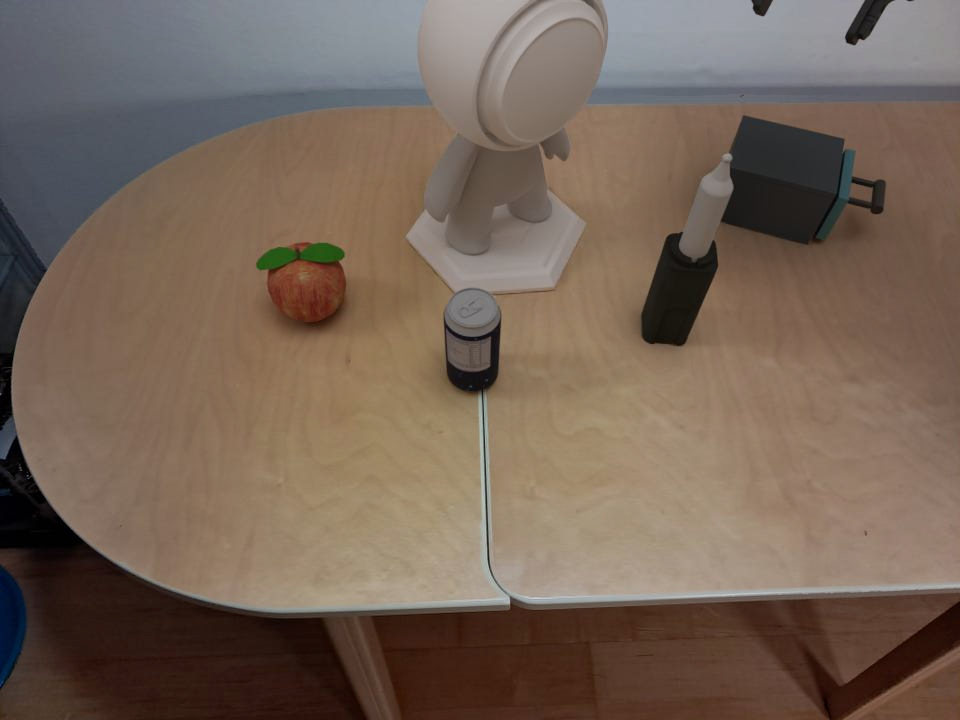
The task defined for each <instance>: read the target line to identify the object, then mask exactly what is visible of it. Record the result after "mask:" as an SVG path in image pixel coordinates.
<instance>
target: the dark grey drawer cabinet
mask: <svg viewBox="0 0 960 720" xmlns="http://www.w3.org/2000/svg"><path fill="white" fill-rule="evenodd" d="M845 141H846V140H845V138H843V137H839V136H834V135H831V134H826V133H822V132H818V131H813V130H809V129H804V128H801V127H795V126H793V125H787V124H783V123H779V122H775V121H770V120H766V119H762V118H758V117H753V116H749V115H745V114H743V115H742V116H741V120H740V122H739V125H738V127H737V130H736V133H735V136H734V138H733V141H732V143H731V146H730V148H729V152H728V153H729V154H731V155H732V161H731V162H730V178H731V180H732V183H733V191H732V194H731V196H730V199H729V201H728V204H727V206H726V209H725V211H724V213H723V216H722V218H721V221H720V223H724V224H728V225H731V226H735V227H739V228H743V229H746V230H749V231H750V230H751V231H753V232H758V233H762V234H766V235H769V236H773V237H776V238H780V239H783V240H788V241H791V242H796V243H800V244H804V245H807V246H808V245H809V244H810V241H811V240H812V238H813V236H814V234H816V231H817V228H818V226H819V224H820V222H821V221H822V219H823V217H824V215H825V214H826V212H827V210H828V208H829V207H830V205H831V203H832V201H833V199H834V198H835V196H836V194H837V189H838V182H839V175H840V168H841V162H842V155H843V153H844V147H845Z"/></svg>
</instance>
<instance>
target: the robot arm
mask: <svg viewBox="0 0 960 720" xmlns="http://www.w3.org/2000/svg"><path fill="white" fill-rule="evenodd" d="M750 1H751V4H752V10H753V12H754V14H755V16H756V15H757V16H759V17H765V16H766V14H768V11H769V9H770V7H771V5H772V3H773V1H774V0H750ZM895 1H896V0H864V1H863V3H862V4H861V6H860V8H859V9H858V11H857V13H856V15H855V17H854V18H853V20H852V22H851V23H850V26H849V27H848V29H847V30H846V33H845V35H844V40H845V43H846V44H848V45H850V46H854V47H855V46H856V45H857V44H858V42H859V41H860V40H861V41H865V40H866V39H867V38H869V37H870V36H871V35H872V32H873V31H874V29H875V27H876V25H877V24H878V22H879V20H880V19H881V16H882V15H883V13H884V12H885V10H886V8H887V6H889V4H891V3H892V2H895ZM906 1H907V2H914V1H915V0H906Z"/></svg>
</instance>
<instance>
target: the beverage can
mask: <svg viewBox="0 0 960 720" xmlns="http://www.w3.org/2000/svg"><path fill="white" fill-rule="evenodd" d="M442 315H443V331H444V333H443V335H444V349H445V351H444V352H445V363H446V364H445V367H446V375H447V379H448V381H450V383H451V384H452V385H453V386H454V387H455V388H457V389H459V390H461V391H464V392H469V393H476V392H482V391H484V390H486V389H489V388H490V387H491V386H492V385H494V383H495V382H496V380H497V378H498V376H499V371H500V370H499V369H500V367H499V366H500V350H501V349H500V348H501V333H502V332H501V331H502V310H501V307H500V305H499V304H498V302H497V300H496V298H495V296H494V295H492V294H491V293H489V292H488V291H486V290H483V289H480V288H465V289H461V290H459V291H457V292H456V293H454V292H453V294H452V295H451V296H450V297H449V299H448V301H447V304H446V305H445V308H444V309H443V314H442Z"/></svg>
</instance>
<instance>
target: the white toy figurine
mask: <svg viewBox="0 0 960 720" xmlns="http://www.w3.org/2000/svg"><path fill="white" fill-rule="evenodd" d="M420 17H421V18H420V22H419V25H418V32H417V44H416V45H417V49H416V50H417V61H418V68H419V74H420V77H421V81H422V85H423V86H424V90H425V92H426V93H427V96H428V98H429V101H430V102H431V104H432V106H433V107H434V108H435V110H436V111H437V113H438V114H439V116H440V117H441V118H442V119H443V121H444V122H445V123H446V124H448V126H449V127H451V128H452V129H453V130H454V131H455V132H456V133H458V134H456V136H455V137H454V138H452V141H450V143H449V144H448V146H447V147H446V148H445V150H444V151H443V153H442V155H441V156H440V158H439V159H438V161H437V162H436V164H435V166H434V168H433V170H432V171H431V174H430V175H429V178H428V180H427V183H426V186H425V190H424V195H423V196H424V197H423V203H424V210H423V211H422V212H421V214H419V216H418V218H417V220H416V221H415V222H414V224H413V225H412V226H411V228H410V229H409V231H408V232H407V234H406V236H405V239H406V241H407V242H408V243H409V244H410V245H411V246H412V248H413V249H415V251H416V252H417V253H418V254H419V255H420V256H421V258H422V259H423V260H424V261H425V262H426V263H427V264H428V265H429V266H430V268H431V269H432V270H433V271H434V272H435V273H436V274H437V275H438V276H439V278H440V279H441V280H442V281H443V282H444V283H445V284H446V285H447V286H448V288H449V289H450V290H451V291H452V292H453V294H454V293H456V292H457V291H459V290H461V289H465V288H480V289H483V290H486V291H488V292H489V293H491V294H492V295H493V296H494V295H505V294H519V293H520V294H521V293H534V292H545V291H546V292H547V291H554V290H555V289H556V286H557V284H558V283H559V281H560V278H561V276H562V275H563V273H564V270H566V267H567V265H568V263H569V261H570V259H571V257H572V255H573V253H574V251H575V249H576V247H577V245H578V243H579V241H580V239H581V237H582V236H583V233H584V232H585V229H586V227H587V222H586V221H584V220H583V219H582V218H581V217H580V216H578V214H576V212H574V211H573V210H572V209H571V208H570V207H569V206H568V205H567V204H565V203H564V202H563V201H562V200H561V199H560V198H558V196H557V195H556V194H554V193H553V192H552V191H551V190H550V188H548V187H547V178H546V174H545V167H544V163H543V158H542V154H541V150H540V147H541V148H542V150H543V153H544V156H545V158H546V160H548V161H549V160H550V161H551V160H553V159H554V156H555V157H557V158H558V159H559V160H560V161H562V162H566V161H567V160H568V158H569V157H570V149H571V145H570V144H571V143H570V139H569V136H568V133H567V131H566V129H565V127H566V126H567V125H568V124H570V122H571V121H572V120H574V118H575V117H576V116H577V115H578V114H579V113H580V111H581V110H582V109H583V108H584V106H585V105H586V103H587V102H588V100H589V99H590V97H591V95H592V93H593V91H594V89H595V87H596V85H597V83H598V80H599V77H600V75H601V73H602V67H603V63H604V59H605V56H606V53H607V47H608V39H609V22H608V16H607V12H606V8H605V5H604V2H603V0H427V1H426V3H425V5H424V8H423V10H422V13H421V16H420Z"/></svg>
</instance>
